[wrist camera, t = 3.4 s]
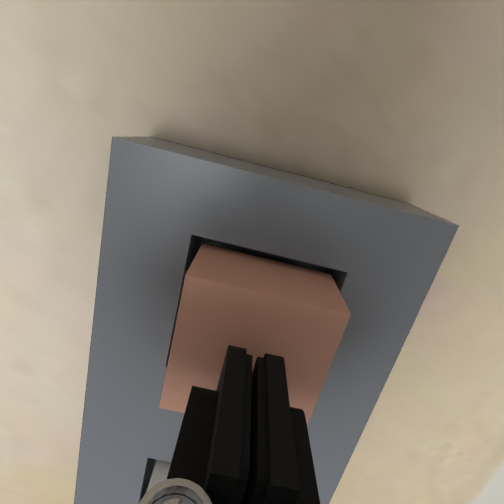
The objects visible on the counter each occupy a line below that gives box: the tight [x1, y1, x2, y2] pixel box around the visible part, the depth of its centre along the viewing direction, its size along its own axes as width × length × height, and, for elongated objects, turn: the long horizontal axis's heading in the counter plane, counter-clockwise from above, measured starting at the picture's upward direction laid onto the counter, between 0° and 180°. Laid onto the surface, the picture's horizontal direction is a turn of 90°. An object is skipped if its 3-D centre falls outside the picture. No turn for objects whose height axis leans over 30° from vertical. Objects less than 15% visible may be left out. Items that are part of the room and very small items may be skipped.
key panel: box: [74, 137, 459, 504], centre depth 17 cm, size 22×12×4 cm, turn 166°
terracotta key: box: [159, 243, 351, 425], centre depth 12 cm, size 5×5×3 cm
